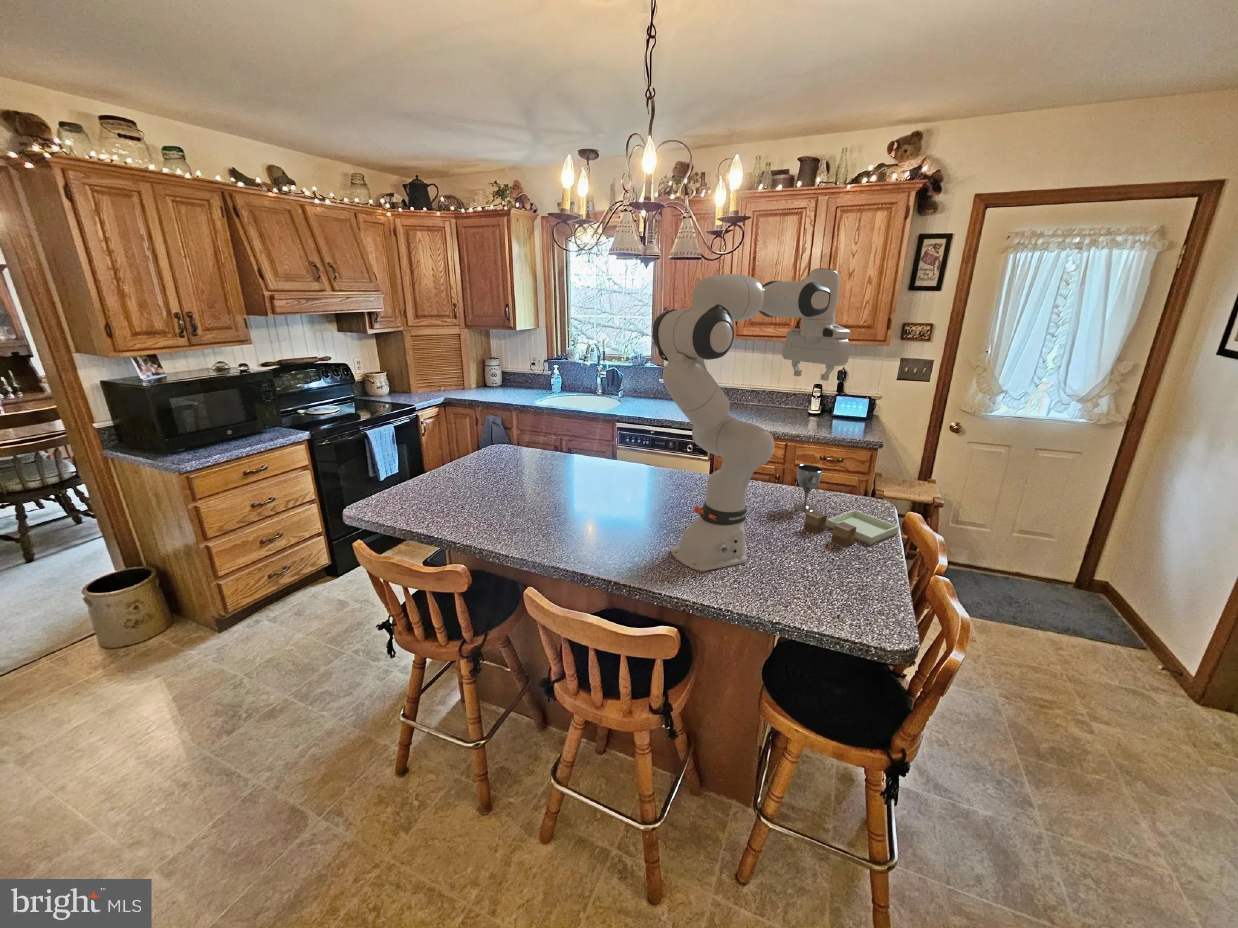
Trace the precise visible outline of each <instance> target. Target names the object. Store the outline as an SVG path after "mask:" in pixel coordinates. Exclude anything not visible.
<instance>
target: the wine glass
mask: <svg viewBox="0 0 1238 928" xmlns="http://www.w3.org/2000/svg"><path fill="white" fill-rule="evenodd" d="M797 466H798V467H797V475H796V477H797V483H798V484H799V486H800V487H801V488H802V490H803V493H804V500H803V503H797V504H794V505H793V508H794V509H795V510H797V511H799V512H803V513H809V512H812V511H815V510H816V508H815V507H814V506H812V505H809V504H807V503H808V502H807V501H808V496H809V494H810V492H812V490H814V489H815V488H816V487H817V486H818V485H819V484H820V481H821V479H822V475H823V468H822V467H821V466H817V465H814V464H806V463H805V464H800V465H797Z"/></svg>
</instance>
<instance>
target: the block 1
mask: <svg viewBox="0 0 1238 928" xmlns="http://www.w3.org/2000/svg"><path fill="white" fill-rule="evenodd" d="M827 519H828V515H827V514H826V513H823V512H820V511H818V510H816V509H815V511H812V512H805V519H804V525H803V529H804V530H806V531H808V532H810V533H812V534H813V535H814V534H815V535H817V534H820V533H823V532H825V531H826V523H827Z"/></svg>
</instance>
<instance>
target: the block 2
mask: <svg viewBox="0 0 1238 928" xmlns="http://www.w3.org/2000/svg"><path fill="white" fill-rule="evenodd" d="M855 533H856V527H855V526H853V525H850V524H848V523H845V522H841V523H838V524H835V525H834V528H833V529H832V535H831V540H830V541H831V542H833V543H834V544H837V545H839V546H841V547H844V548H846V547H849V546H850V545H853V544H854V543H855V539H854V538H855Z"/></svg>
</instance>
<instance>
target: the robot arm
mask: <svg viewBox="0 0 1238 928" xmlns="http://www.w3.org/2000/svg"><path fill="white" fill-rule="evenodd" d="M840 284H841V281H840V273H839V272H837V271H836V270H834V269H832V268H831V269H830V268H824V267H822V268H813V269H812V270H810V274H809V275H808V276H807V277H805V278H804V279H801V280H789V281H788V280H787V281H786V280H785V281H782V280H770V281H767V282H766V283H764V284H761V282H760V281H759V280H758V279H757V278H755V277H752V276H749V275H745V274H739V273H738V274H736V273H726V274H725V273H724V274H716V275H711V276H706V277H703V278H701V279H700V280H699V281H698V282H697V283H696V284H695V286H694V287H693V289H692V293H691V306H690V308H689V309H687V308H685V309H669V310H666V311H663V312H662V313H659V315H658V316H657V317H656V318H655V319H654V322H653V324H652V330H651V331H652V338H653V343H654V345H655V347H656V349H657V350H658V356H659V357H660V358H661V359H662V360H664V361H666V362H667V364H666V366H665V367H664V369H663V371H662V381H663V384H664V387H665V388H666V390H667V392H668V394H669V395H670V397H671V399H672V400H673V401H674V403H675V405H676V406H677V407H678V408H679V409H680V411H681V412H682V413H683V414H684V416H685V417H686V418H687V419H688V421H689V422H690V424H691V425H692V426H693V427H692V429H691V430H692V431H691V438H692V440H693V443H694V444H696V445H697V446H698V447H700V448H701V450H702V449H703V450H704V451H705V452H708V453H710V454H712V455H716V456H718V457H721V458H722V464H721V467H720V469H718V470H715V471H713V472H712V473H711V474H710V475H709V476H708V477H707V483H706V484H707V485H706V496H705V497H706V498H705V501H704V503H703V506H702V507H701V506H699V505H695V507H694V508H693V512H694V513H695V514H698V515H699V517H697V519H696V520H695V521H693V522H692V523H691V524H690V525H689V526H688V527H687V528H686V529H685V530H684V531H682V534H681V536H680V541H679V543H678V544H677V545H674V546H673V547H671V549H670V552H671V555H672V556H673V557H674V559H675V560H676V561H678V562H680V563H681V564H682V565H685V566H686V567H689V568H691V569H693V570H696V571H700V572H706V571H711V570H716V569H720V568H725V567H730V566H734V565H740V564H745V563H747V562H748V560H747V559H748V557H747V547H746V531H745V530H746V528H745V521H746V519H747V505H746V503H747V495H748V489H749V488H748V487H749V484H750V480H751V478H752V475H753V474H754V473H755V472H756V470H758V469H759V468H760V467H763V466H764V465H765V464H766V463H768V462H769V460H771V458H772V457H773V454H774V452H775V439H774V436H773V435H772V434H771V432H769V431H768V430H766V429H765V428H762V427H761V426H759V425H757V424H755V423H751V422H747V421H743V420H739V419H737V418H734V417H732V416H731V415H730V414H728V413H729V411H730V405H731V404H730V400H729V398H728V397H727V395H726V394H725V393H724V391H723V389H722V388H721V387H720V386H719V384H718V382H717V381H716V380H715V379H714V377H713V376H712V375H711V374H710V372H709V371H708V369H707V367H706V364H705V361H706V360H707V361H710V360H716V359H717V360H718V359H720V358H722V357H724V356H725V355H726V354H728V352H729V351H730V349H731V346H732V345H733V342H734V336H735V328H734V327H735V326H734V322H743V321H747V320H749V319H750V320H751V319H753V318H755V317H756V316H757V315H758V314H761V315H762V316H764V317H767V318H794V319H795V318H796V319H801V326H800V328H795V327H793V328H790V329H789V330H788V331H787V332H786V336H785V341H784V344H783V348H782V355H781V356H782V359H783V360H787V361H788V360H789V361H791V366H792V368H793V376H794V377H801V376H802V373H803V370H802V369H800V364H801V362H803V363H804V362H805V363H812V364H819V365H825V369H826V370H825V372H823V373H821V375H820V381H823V382H825V381H826V382H827V381H829V379H830V375H831V374H832V372H833V371H835V367H843V366H846V364H847V363H848V362H849V357H850V349H851V348H850V346H851V344H850V341H849V339H848V338H850V335H851V330H849V329H848V328H845V327H843V326H841V325H840V324H836V308H837V306H838V303H839V296H840Z"/></svg>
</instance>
